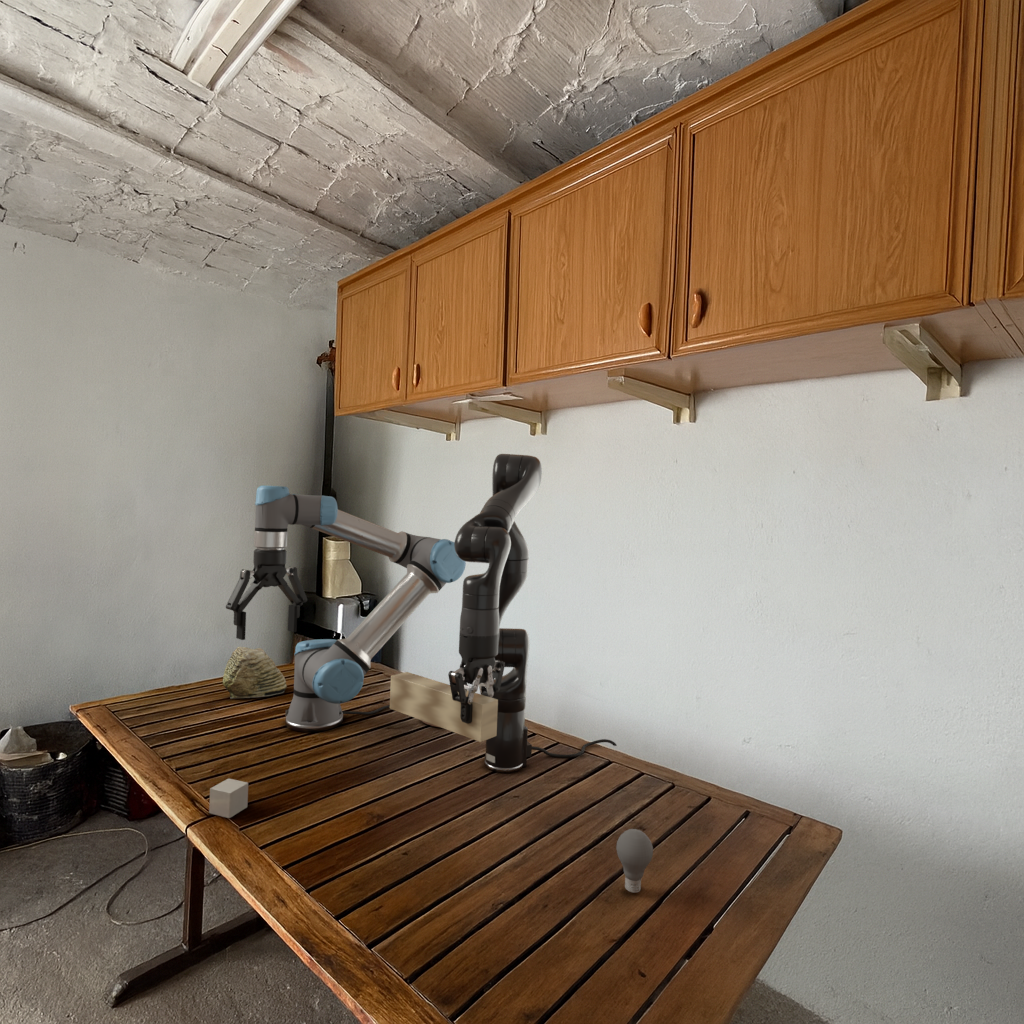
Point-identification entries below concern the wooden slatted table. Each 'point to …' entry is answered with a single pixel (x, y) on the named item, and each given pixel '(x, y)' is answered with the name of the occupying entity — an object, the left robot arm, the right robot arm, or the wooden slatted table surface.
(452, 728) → the ash bar
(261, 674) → the fossil
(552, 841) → the wooden slatted table surface
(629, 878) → the light bulb
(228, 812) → the grey block
